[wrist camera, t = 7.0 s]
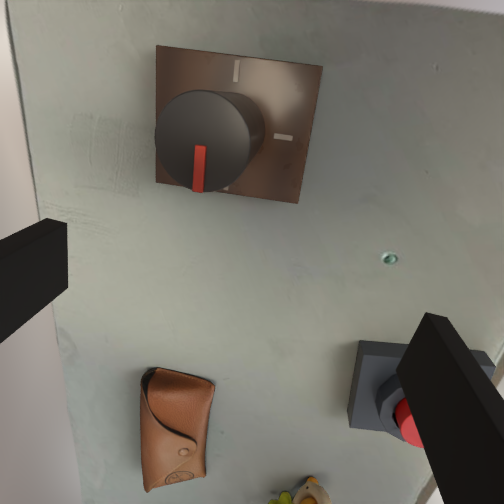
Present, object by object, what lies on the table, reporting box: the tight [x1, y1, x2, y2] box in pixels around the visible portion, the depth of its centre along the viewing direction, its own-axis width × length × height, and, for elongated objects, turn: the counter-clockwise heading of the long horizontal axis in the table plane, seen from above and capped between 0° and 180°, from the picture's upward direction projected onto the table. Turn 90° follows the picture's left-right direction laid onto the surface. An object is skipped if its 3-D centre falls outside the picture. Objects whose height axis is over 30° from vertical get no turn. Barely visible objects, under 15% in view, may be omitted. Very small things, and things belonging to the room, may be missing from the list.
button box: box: [347, 341, 496, 442], centre depth 35 cm, size 12×10×4 cm
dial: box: [155, 90, 265, 193], centre depth 22 cm, size 5×5×9 cm
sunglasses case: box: [140, 368, 215, 493], centre depth 42 cm, size 18×7×7 cm, turn 174°
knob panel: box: [156, 45, 323, 204], centre depth 27 cm, size 12×10×2 cm
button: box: [395, 398, 424, 448], centre depth 32 cm, size 5×5×2 cm
